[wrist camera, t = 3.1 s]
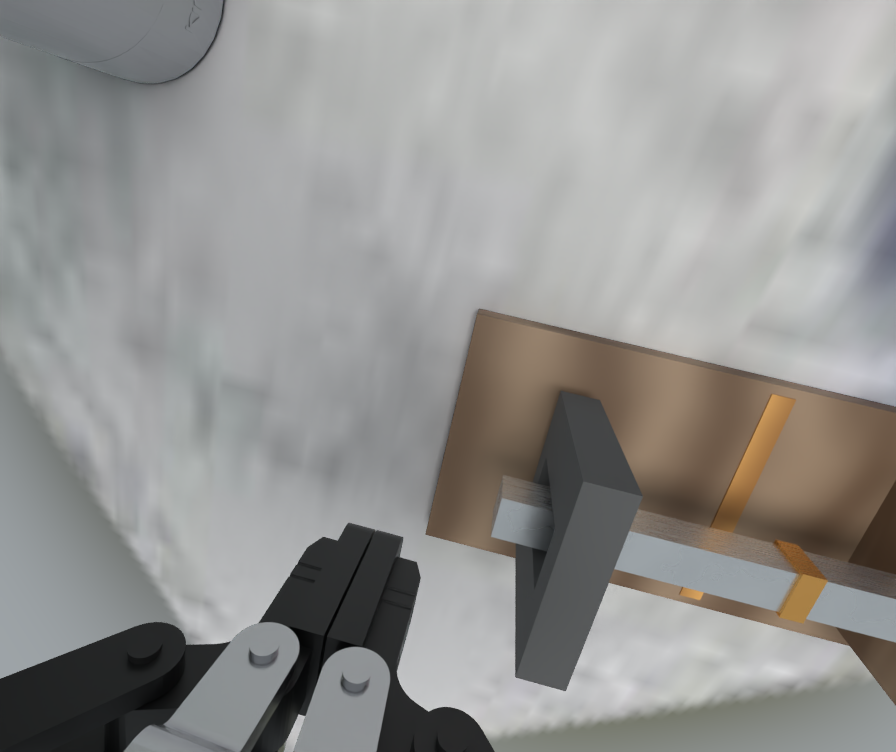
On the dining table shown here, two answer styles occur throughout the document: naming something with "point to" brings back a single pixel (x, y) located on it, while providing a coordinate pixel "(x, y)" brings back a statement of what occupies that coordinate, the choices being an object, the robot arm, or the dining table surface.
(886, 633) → the light grey beam
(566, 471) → the dark grey block
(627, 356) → the base board
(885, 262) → the dining table surface
